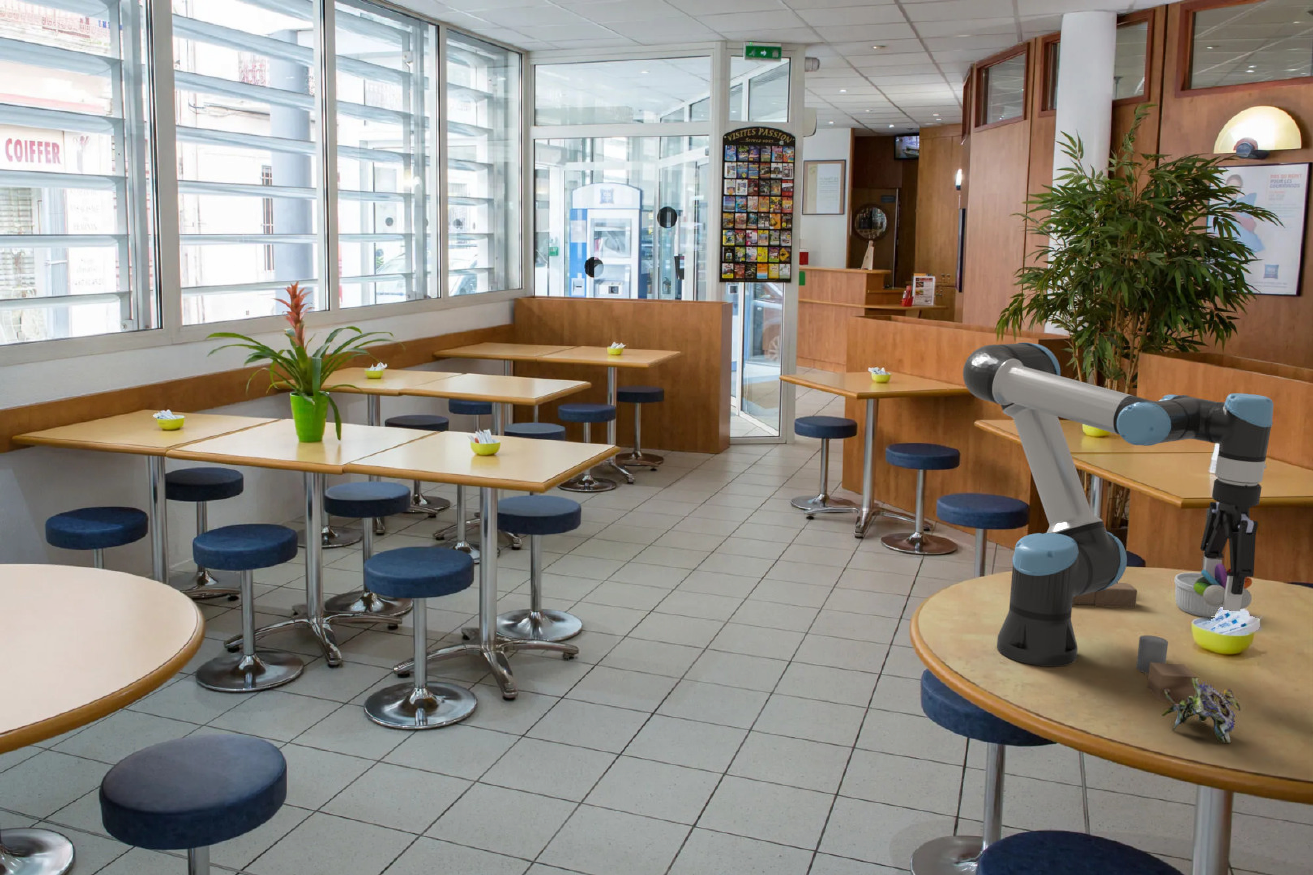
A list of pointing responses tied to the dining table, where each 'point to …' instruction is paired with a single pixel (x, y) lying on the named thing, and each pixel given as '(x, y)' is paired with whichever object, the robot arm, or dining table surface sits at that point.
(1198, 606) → the ramekin
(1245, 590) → the rainbow cloud toy
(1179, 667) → the walnut block
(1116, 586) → the wooden block set
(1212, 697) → the passion flower
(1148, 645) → the grey cylinder
